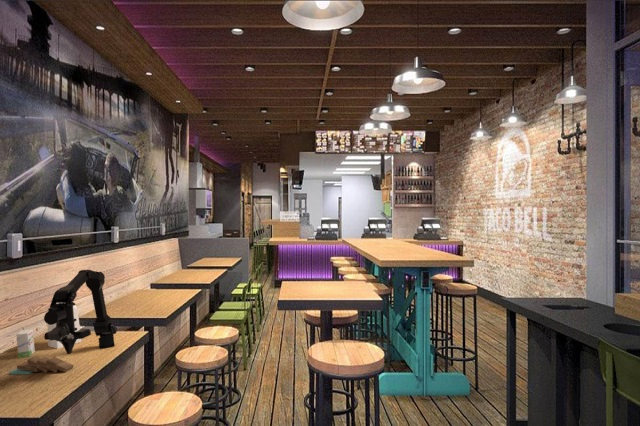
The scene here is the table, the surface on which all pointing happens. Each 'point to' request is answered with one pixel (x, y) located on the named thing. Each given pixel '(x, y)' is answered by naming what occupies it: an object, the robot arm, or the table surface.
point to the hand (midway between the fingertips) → (69, 353)
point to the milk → (55, 343)
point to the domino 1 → (20, 371)
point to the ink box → (25, 343)
